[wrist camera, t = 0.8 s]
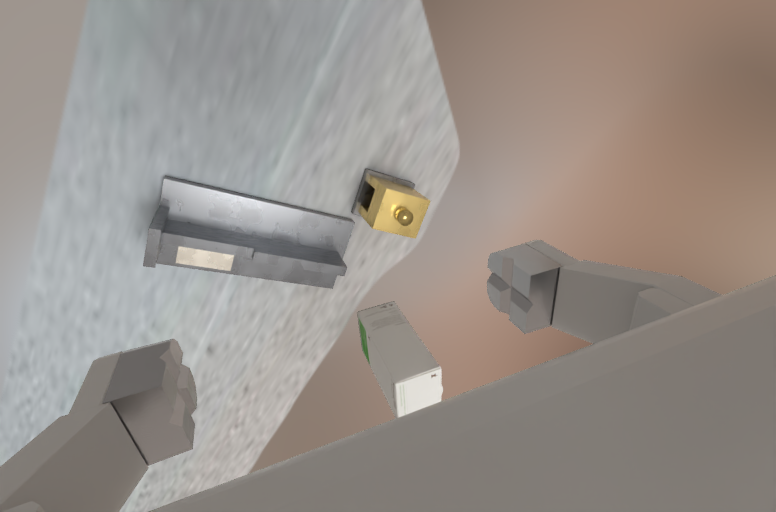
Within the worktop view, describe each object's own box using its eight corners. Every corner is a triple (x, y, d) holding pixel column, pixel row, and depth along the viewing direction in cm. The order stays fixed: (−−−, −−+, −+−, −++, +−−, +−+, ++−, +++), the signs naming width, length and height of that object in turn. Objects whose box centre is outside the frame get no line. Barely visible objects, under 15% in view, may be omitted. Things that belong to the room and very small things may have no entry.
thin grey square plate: (365, 168, 49) (368, 170, 48) (412, 182, 52) (415, 184, 52) (351, 211, 51) (353, 214, 50) (396, 223, 54) (399, 225, 54)
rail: (165, 175, 42) (153, 197, 35) (352, 219, 52) (370, 243, 45) (151, 257, 45) (138, 292, 38) (330, 284, 55) (344, 315, 48)
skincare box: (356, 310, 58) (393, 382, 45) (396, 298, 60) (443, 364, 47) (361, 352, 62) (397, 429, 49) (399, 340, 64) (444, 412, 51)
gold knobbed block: (370, 175, 49) (391, 192, 43) (410, 187, 52) (435, 204, 45) (358, 211, 50) (376, 233, 44) (397, 221, 53) (420, 242, 47)
